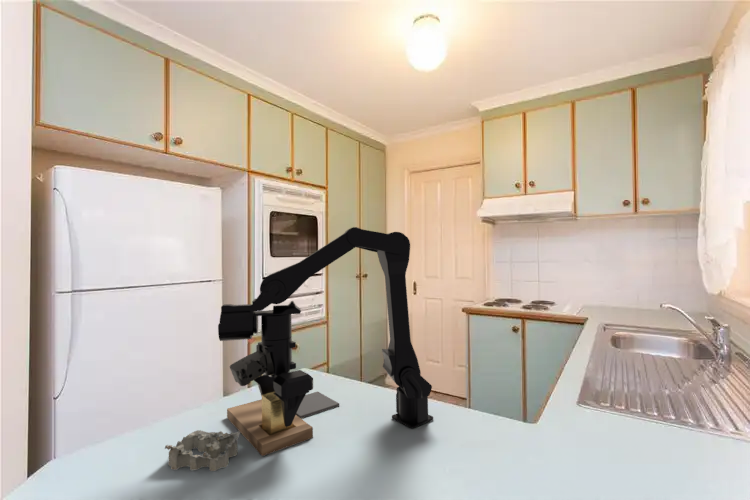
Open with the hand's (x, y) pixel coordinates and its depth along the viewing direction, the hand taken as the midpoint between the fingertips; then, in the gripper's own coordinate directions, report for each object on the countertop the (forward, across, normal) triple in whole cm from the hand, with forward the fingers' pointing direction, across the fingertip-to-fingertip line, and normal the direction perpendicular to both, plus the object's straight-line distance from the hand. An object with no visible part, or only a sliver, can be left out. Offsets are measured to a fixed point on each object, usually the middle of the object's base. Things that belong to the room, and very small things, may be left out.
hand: (277, 417), depth 71 cm
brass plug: (+4, 0, 0) cm, 4 cm away
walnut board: (+4, -5, 0) cm, 6 cm away
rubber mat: (+4, -9, +12) cm, 15 cm away
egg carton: (+4, -1, -13) cm, 14 cm away
